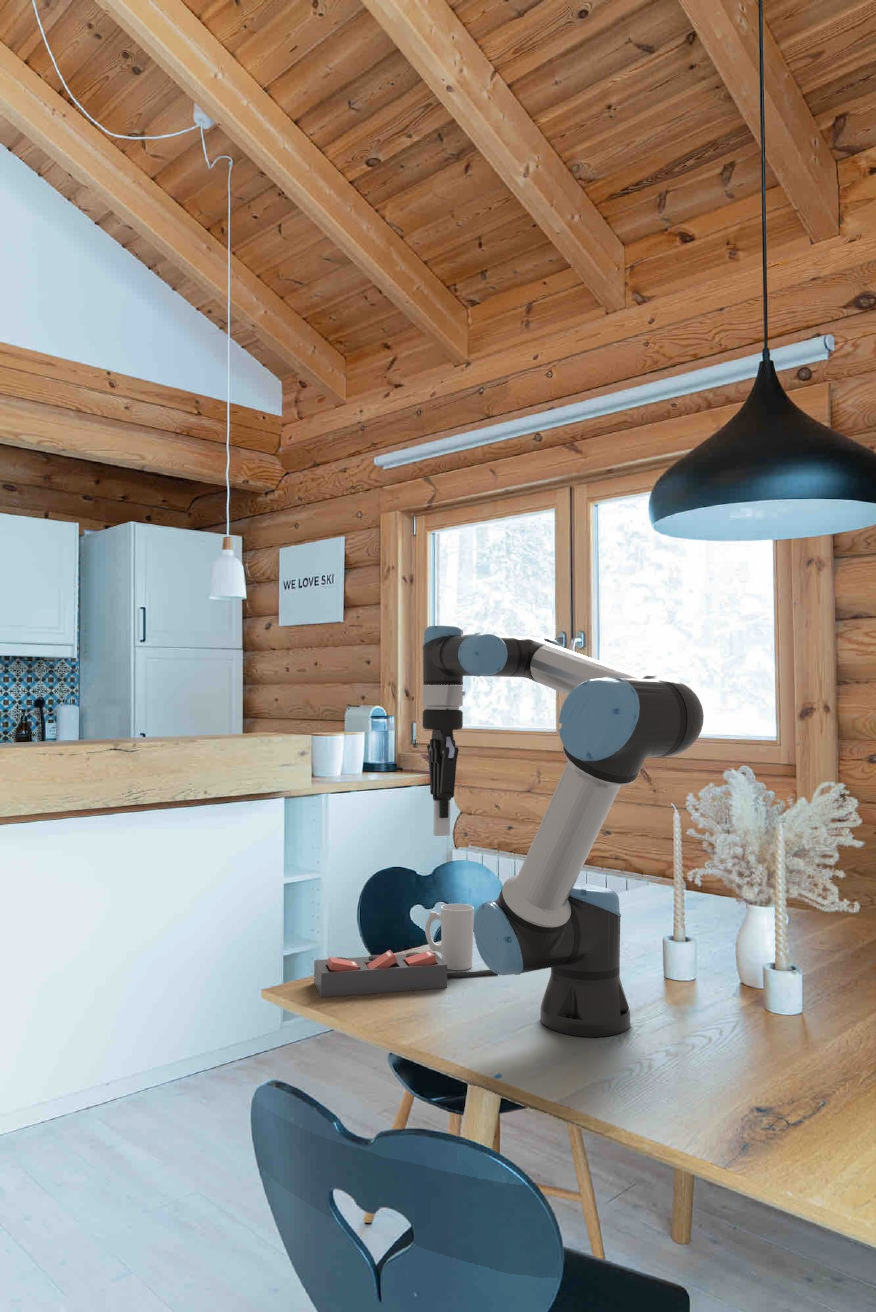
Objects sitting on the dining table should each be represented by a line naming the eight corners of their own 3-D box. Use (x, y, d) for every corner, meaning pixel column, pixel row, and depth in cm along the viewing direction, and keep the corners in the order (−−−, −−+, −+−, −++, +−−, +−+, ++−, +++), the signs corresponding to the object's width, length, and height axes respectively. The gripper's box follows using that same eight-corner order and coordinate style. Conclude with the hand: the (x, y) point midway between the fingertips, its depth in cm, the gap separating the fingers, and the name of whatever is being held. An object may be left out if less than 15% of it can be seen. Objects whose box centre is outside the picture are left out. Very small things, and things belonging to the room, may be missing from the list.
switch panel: (509, 982, 184) (509, 958, 184) (321, 997, 174) (321, 971, 174) (493, 969, 192) (494, 946, 193) (313, 982, 183) (314, 958, 183)
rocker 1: (357, 974, 177) (359, 966, 177) (330, 969, 176) (332, 961, 176) (353, 968, 181) (355, 961, 181) (327, 964, 179) (329, 956, 180)
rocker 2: (397, 960, 179) (394, 954, 179) (374, 976, 178) (370, 970, 178) (393, 955, 183) (389, 949, 183) (370, 971, 182) (366, 964, 181)
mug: (475, 962, 198) (476, 904, 198) (471, 971, 191) (471, 911, 191) (427, 959, 199) (428, 902, 200) (421, 968, 193) (422, 909, 193)
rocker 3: (436, 962, 181) (434, 954, 181) (410, 970, 180) (409, 963, 180) (431, 957, 185) (429, 949, 185) (406, 965, 183) (404, 957, 183)
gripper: (472, 708, 173) (471, 839, 172) (452, 707, 185) (451, 829, 184) (432, 708, 171) (431, 840, 170) (414, 707, 183) (413, 830, 182)
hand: (441, 834), depth 177 cm, fingers closed
